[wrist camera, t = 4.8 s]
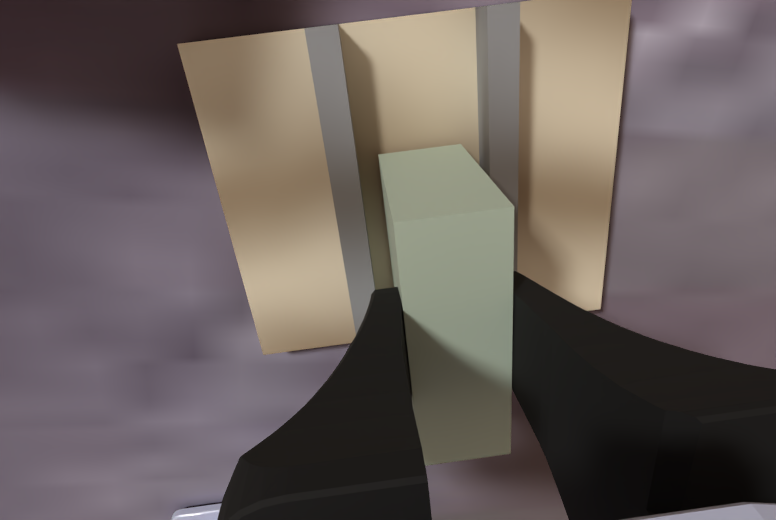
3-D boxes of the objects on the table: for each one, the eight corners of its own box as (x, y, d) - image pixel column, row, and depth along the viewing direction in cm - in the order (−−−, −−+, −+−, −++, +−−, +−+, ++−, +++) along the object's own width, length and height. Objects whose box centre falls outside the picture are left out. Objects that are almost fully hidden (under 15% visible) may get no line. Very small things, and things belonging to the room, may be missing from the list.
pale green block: (468, 339, 17) (510, 453, 13) (401, 348, 17) (420, 466, 13) (460, 143, 14) (514, 206, 10) (378, 154, 14) (393, 222, 9)
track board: (587, 295, 18) (617, 327, 16) (267, 338, 18) (257, 377, 16) (614, -10, 14) (659, -16, 12) (188, 42, 13) (160, 45, 11)
